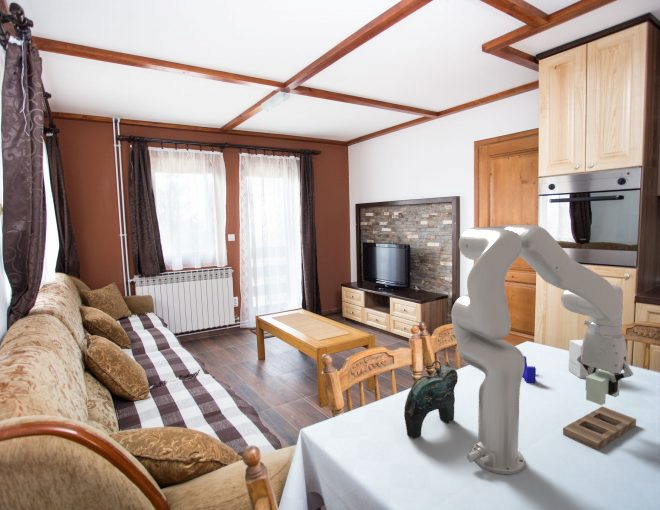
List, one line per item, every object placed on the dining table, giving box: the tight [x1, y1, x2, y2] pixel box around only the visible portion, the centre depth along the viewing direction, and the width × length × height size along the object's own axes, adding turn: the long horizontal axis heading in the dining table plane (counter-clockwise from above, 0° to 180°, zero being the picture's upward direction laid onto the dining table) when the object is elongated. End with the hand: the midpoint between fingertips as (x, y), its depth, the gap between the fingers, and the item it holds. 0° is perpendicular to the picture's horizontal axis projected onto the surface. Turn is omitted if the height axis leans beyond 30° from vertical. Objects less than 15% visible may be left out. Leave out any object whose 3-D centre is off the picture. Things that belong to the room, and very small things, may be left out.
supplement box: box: [568, 339, 600, 379], centre depth 149 cm, size 7×7×13 cm
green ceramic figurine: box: [403, 360, 459, 440], centre depth 115 cm, size 20×6×20 cm, turn 123°
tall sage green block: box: [585, 369, 622, 406], centre depth 111 cm, size 11×4×7 cm, turn 120°
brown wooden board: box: [562, 405, 637, 451], centre depth 112 cm, size 22×9×2 cm, turn 120°
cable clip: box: [522, 355, 537, 384], centre depth 149 cm, size 12×4×6 cm, turn 170°
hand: (602, 389), depth 111 cm, fingers closed on tall sage green block, 4 cm apart
